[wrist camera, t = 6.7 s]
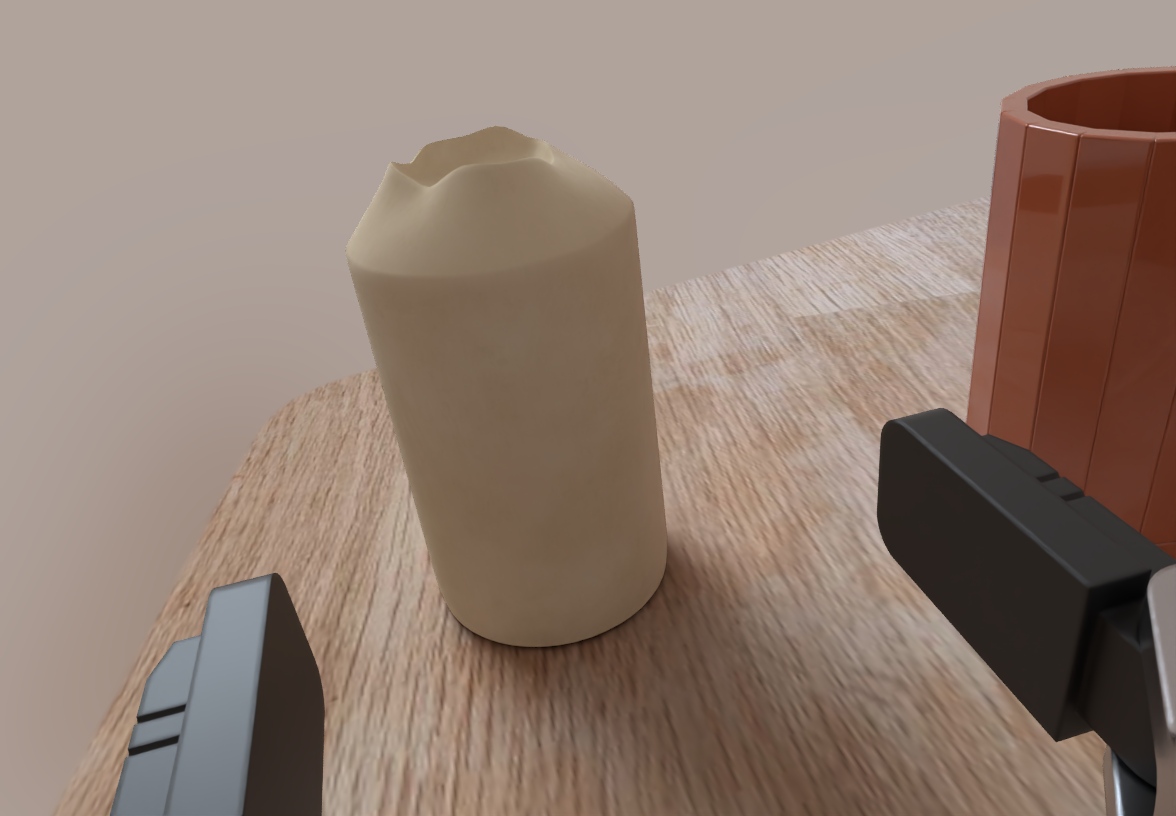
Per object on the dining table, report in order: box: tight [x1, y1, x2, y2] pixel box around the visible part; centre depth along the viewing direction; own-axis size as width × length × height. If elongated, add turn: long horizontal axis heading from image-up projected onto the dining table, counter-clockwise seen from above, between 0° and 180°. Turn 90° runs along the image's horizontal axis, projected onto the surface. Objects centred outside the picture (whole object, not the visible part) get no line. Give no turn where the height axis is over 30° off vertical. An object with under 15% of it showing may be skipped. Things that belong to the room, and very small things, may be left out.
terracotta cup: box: [966, 66, 1176, 560], centre depth 19 cm, size 6×6×9 cm
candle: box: [346, 126, 667, 647], centre depth 18 cm, size 6×6×10 cm
